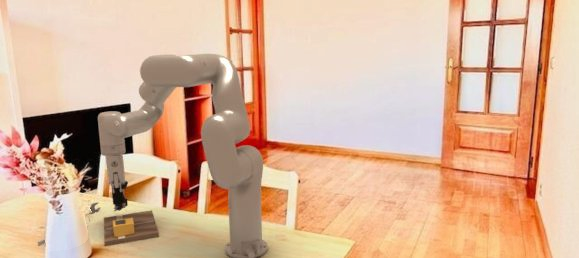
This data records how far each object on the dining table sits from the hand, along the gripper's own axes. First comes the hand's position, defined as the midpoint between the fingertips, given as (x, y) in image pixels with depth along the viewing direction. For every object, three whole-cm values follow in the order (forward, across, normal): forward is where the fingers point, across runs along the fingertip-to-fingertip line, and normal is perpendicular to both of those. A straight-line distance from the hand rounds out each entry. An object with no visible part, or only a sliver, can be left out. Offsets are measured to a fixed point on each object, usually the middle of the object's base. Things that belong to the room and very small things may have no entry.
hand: (117, 200), depth 148 cm
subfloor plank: (+8, -6, -3) cm, 11 cm away
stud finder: (+7, -12, -1) cm, 14 cm away
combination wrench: (+9, +10, +14) cm, 20 cm away
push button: (+3, 0, 0) cm, 3 cm away
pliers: (+9, -2, +18) cm, 20 cm away
